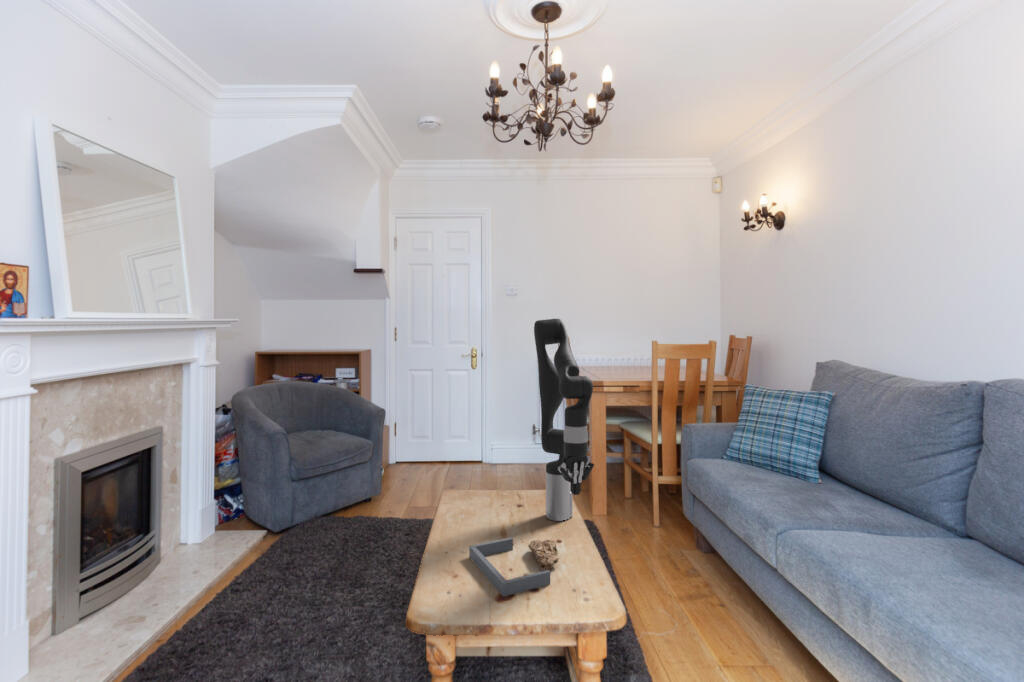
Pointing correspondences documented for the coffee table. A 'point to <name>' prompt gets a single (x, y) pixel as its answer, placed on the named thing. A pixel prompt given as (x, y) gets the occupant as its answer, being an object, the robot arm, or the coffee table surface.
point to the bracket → (496, 578)
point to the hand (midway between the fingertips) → (575, 494)
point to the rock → (544, 553)
